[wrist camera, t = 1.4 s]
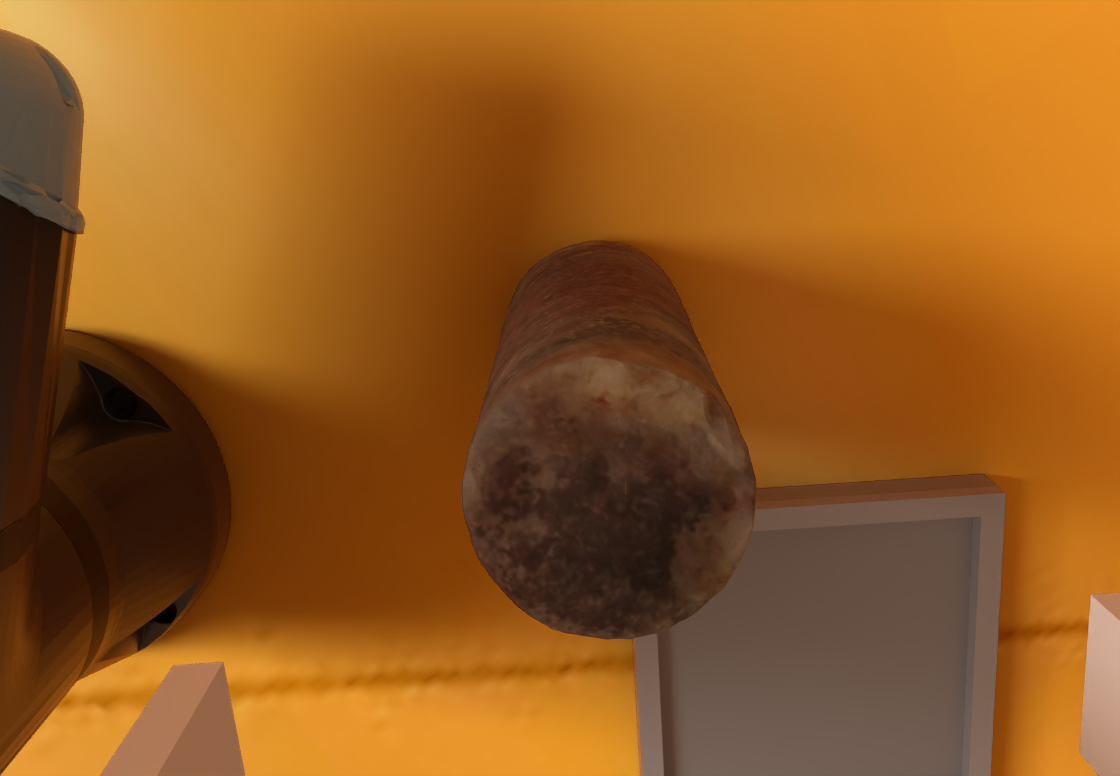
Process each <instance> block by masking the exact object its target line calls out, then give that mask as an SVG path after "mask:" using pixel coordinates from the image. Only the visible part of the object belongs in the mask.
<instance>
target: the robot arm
mask: <svg viewBox="0 0 1120 776" xmlns="http://www.w3.org/2000/svg"><path fill="white" fill-rule="evenodd" d="M83 123H84V110H83V102H82V98H81V95H80V92H79V89H78V87H77V85H76V83H75V81H74V79H73V77H72V76H71V74H70V73H69V71H68V70H67V69H66V68H65V66H64V65H63V64H62V63H61V62H60V61H59V60H58V59H57V58H56V57H55V56H54V55H53V54H52V53H50V52H49V51H48V50H47V49H45V48H44V47H42V46H41V45H39V44H38V43H36V42H34V41H32V40H30V39H27V38H25V37H22V36H20V35H17V34H14V33H11V32H8V31H6V30H3V29H0V775H1V774H2V773H3V771H4V770H5V769H6V768H7V766H8V765H9V764H10V763H11V762H12V760H13V759H14V758H15V757H16V755H17V754H18V753H19V752H20V751H21V749H22V748H23V747H24V746H25V744H26V743H27V742H28V741H29V740H30V738H31V737H32V736H33V735H34V733H35V732H36V731H37V730H38V729H39V727H40V726H41V725H42V724H43V722H44V721H45V720H46V719H47V717H48V716H49V715H50V714H51V713H52V711H53V710H54V709H55V708H56V706H57V705H58V704H59V703H60V702H61V700H62V699H63V698H64V697H65V695H66V694H67V693H68V691H69V690H70V689H71V687H72V686H73V685H74V684H75V683H76V682H77V681H78V680H80V679H82V678H84V677H86V676H89V675H91V674H93V673H95V672H97V671H99V670H101V669H103V668H105V667H108V666H110V665H112V664H114V663H116V662H118V661H120V660H122V659H125V658H127V657H129V656H131V655H133V654H135V653H137V652H139V651H141V650H142V649H144V648H146V647H147V646H149V645H151V644H152V643H154V642H155V641H156V640H158V639H159V638H161V637H162V636H163V635H164V634H165V633H167V632H168V631H169V630H170V629H171V628H173V627H174V626H175V625H176V624H177V623H178V622H179V621H180V620H181V619H182V618H183V616H184V615H185V614H186V613H187V612H188V611H189V609H190V608H191V607H192V605H193V604H194V603H195V601H196V600H197V598H198V597H199V596H200V594H201V593H202V592H203V590H204V589H205V587H206V586H207V585H208V583H209V582H210V580H211V578H212V577H213V575H214V573H215V572H216V569H217V567H218V565H219V563H220V561H221V558H222V556H223V553H224V550H225V546H226V543H227V539H228V534H229V528H230V519H231V499H230V489H229V482H228V477H227V472H226V469H225V465H224V462H223V459H222V456H221V453H220V451H219V448H218V446H217V444H216V441H215V439H214V437H213V435H212V433H211V431H210V430H209V428H208V426H207V424H206V423H205V421H204V420H203V418H202V417H201V415H200V414H199V412H198V411H197V410H196V408H195V407H194V406H193V404H192V403H191V402H190V401H189V399H188V398H187V397H186V396H185V395H184V394H183V393H182V392H181V391H180V390H179V389H178V388H177V387H176V386H175V385H174V384H173V383H172V382H171V381H170V380H169V379H168V378H167V377H165V376H164V375H163V374H162V373H161V372H159V371H158V370H157V369H155V368H154V367H153V366H151V365H150V364H148V363H147V362H145V361H144V360H142V359H141V358H139V357H137V356H136V355H134V354H132V353H130V352H129V351H127V350H125V349H123V348H120V347H118V346H116V345H114V344H111V343H109V342H107V341H104V340H101V339H98V338H95V337H92V336H89V335H85V334H81V333H77V332H72V331H66V330H65V325H66V317H67V309H68V301H69V293H70V285H71V277H72V269H73V261H74V253H75V245H76V237H77V234H83V233H84V227H85V220H84V217H83V215H82V213H81V212H80V210H79V209H78V201H79V185H80V170H81V154H82V138H83ZM1080 754H1081V755H1082V756H1083V757H1084V759H1085V760H1086V761H1087V762H1088V763H1089V765H1090V766H1091V767H1092V768H1093V770H1094V771H1095V772H1096V773H1097V774H1098V776H1120V593H1107V594H1094V595H1091V600H1090V614H1089V628H1088V642H1087V655H1086V669H1085V683H1084V697H1083V711H1082V725H1081V738H1080ZM100 776H245V772H244V767H243V761H242V756H241V751H240V746H239V741H238V736H237V730H236V725H235V720H234V715H233V710H232V705H231V699H230V694H229V689H228V684H227V679H226V673H225V668H224V663H223V662H213V663H200V664H187V665H174V666H172V668H171V669H170V671H169V672H168V674H167V675H166V677H165V678H164V680H163V681H162V683H161V684H160V686H159V687H158V689H157V690H156V692H155V694H154V695H153V697H152V698H151V700H150V701H149V703H148V704H147V706H146V707H145V709H144V710H143V712H142V713H141V715H140V716H139V718H138V719H137V721H136V722H135V724H134V725H133V727H132V728H131V730H130V731H129V733H128V734H127V736H126V737H125V739H124V740H123V742H122V743H121V745H120V746H119V748H118V749H117V751H116V752H115V754H114V755H113V757H112V758H111V760H110V761H109V763H108V764H107V766H106V767H105V769H104V770H103V772H102V773H101V775H100Z"/></svg>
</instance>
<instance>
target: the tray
mask: <svg viewBox="0 0 1120 776" xmlns="http://www.w3.org/2000/svg"><path fill="white" fill-rule="evenodd" d="M1005 502H1006V493H1005V492H1004V491H1003V490H1002V489H1001V488H1000V487H998V486H997V485H996V484H995V483H994V482H993V481H991V480H990V479H989V478H988V477H987V476H986V475H985V474H973V475H958V476H943V477H928V478H913V479H898V480H883V481H867V482H852V483H837V484H822V485H807V486H792V487H777V488H761V489H756V500H755V516H754V526H753V530H752V534H751V537H750V540H749V542H748V545H747V547H746V550H745V552H744V554H743V557H742V559H741V561H740V563H739V564H738V566H737V568H736V570H735V572H734V574H733V575H732V576H731V578H730V579H729V581H728V582H727V584H726V586H725V588H724V589H723V590H721V591H720V592H719V593H718V594H717V595H715V596H714V597H713V598H712V599H711V600H709V601H708V602H707V603H706V604H705V605H704V606H703V607H702V608H701V609H699V610H698V611H697V612H696V613H695V614H693V615H692V616H690V617H688V618H687V619H685V620H682V621H680V622H678V623H676V624H675V625H673V626H672V627H670V628H668V629H667V630H666V631H664V632H663V633H659V634H651V635H646V636H642V637H637V638H633V639H632V641H633V659H634V677H635V695H636V713H637V730H638V748H639V766H640V776H991V759H992V740H993V722H994V704H995V686H996V667H997V649H998V631H999V612H1000V594H1001V576H1002V557H1003V539H1004V521H1005Z"/></svg>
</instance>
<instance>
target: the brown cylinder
mask: <svg viewBox="0 0 1120 776" xmlns="http://www.w3.org/2000/svg"><path fill="white" fill-rule="evenodd" d="M462 499H463V512H464V517H465V522H466V525H467V527H468V530H469V533H470V537H471V542H472V544H473V547H474V549H475V552H476V555H477V557H478V559H479V561H480V563H481V564H482V566H483V567H484V568H485V569H486V571H487V572H488V574H489V575H490V576H491V578H492V579H493V581H494V582H495V583H496V584H497V585H498V586H499V587H500V588H501V589H502V590H503V592H504V593H505V594H506V595H507V596H508V597H509V598H510V599H511V600H512V601H513V602H514V603H515V604H516V606H518V607H519V608H520V609H522V610H523V611H524V612H525V613H527V614H528V615H529V616H531V617H532V618H534V619H536V620H538V621H539V622H541V623H543V624H545V625H546V626H548V627H550V628H552V629H555V630H558V631H561V632H564V633H569V634H576V635H582V636H588V637H595V638H601V639H617V638H620V639H633V638H637V637H642V636H646V635H651V634H659V633H663V632H664V631H666V630H667V629H668V628H670V627H672V626H673V625H675V624H676V623H678V622H680V621H682V620H685V619H687V618H688V617H690V616H692V615H693V614H695V613H696V612H697V611H698V610H699V609H701V608H702V607H703V606H704V605H705V604H706V603H707V602H708V601H709V600H711V599H712V598H713V597H714V596H715V595H717V594H718V593H719V592H720V591H721V590H723V589H724V588H725V586H726V584H727V582H728V581H729V579H730V578H731V576H732V575H733V574H734V572H735V570H736V568H737V566H738V564H739V563H740V561H741V559H742V557H743V554H744V552H745V550H746V547H747V545H748V542H749V540H750V537H751V534H752V530H753V526H754V516H755V500H756V479H755V475H754V471H753V467H752V463H751V460H750V456H749V452H748V447H747V445H746V443H745V441H744V439H743V437H742V435H741V433H740V430H739V427H738V424H737V422H736V419H735V417H734V414H733V412H732V409H731V407H730V405H729V404H728V402H727V400H726V398H725V396H724V394H723V392H722V390H721V388H720V386H719V384H718V382H717V380H716V378H715V376H714V373H713V371H712V369H711V366H710V364H709V362H708V360H707V358H706V356H705V354H704V351H703V349H702V347H701V346H700V344H699V341H698V339H697V337H696V335H695V332H694V330H693V328H692V325H691V323H690V320H689V318H688V315H687V313H686V311H685V309H684V307H683V305H682V303H681V300H680V298H679V296H678V294H677V292H676V290H675V288H674V286H673V285H672V283H671V281H670V280H669V278H668V277H667V275H666V274H665V273H664V271H663V270H662V269H661V268H660V267H659V266H658V265H657V264H656V263H655V262H654V261H653V260H652V259H651V258H650V257H649V256H647V255H646V254H644V253H643V252H641V251H638V250H636V249H634V248H632V247H630V246H628V245H626V244H622V243H617V242H608V241H587V242H583V243H579V244H574V245H570V246H568V247H565V248H562V249H560V250H557V251H555V252H553V253H552V254H550V255H548V256H547V257H545V258H543V259H541V260H540V261H539V262H537V263H536V264H535V265H534V266H533V267H531V268H530V269H529V271H528V272H527V274H526V275H525V276H524V277H523V278H522V280H521V281H520V283H519V285H518V287H517V289H516V291H515V293H514V295H513V297H512V300H511V303H510V305H509V308H508V312H507V316H506V319H505V322H504V325H503V329H502V333H501V338H500V343H499V347H498V350H497V353H496V357H495V361H494V364H493V368H492V372H491V375H490V379H489V384H488V389H487V392H486V394H485V398H484V401H483V404H482V407H481V412H480V416H479V421H478V425H477V427H476V430H475V432H474V435H473V438H472V442H471V446H470V449H469V453H468V457H467V462H466V466H465V471H464V476H463V481H462Z"/></svg>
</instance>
